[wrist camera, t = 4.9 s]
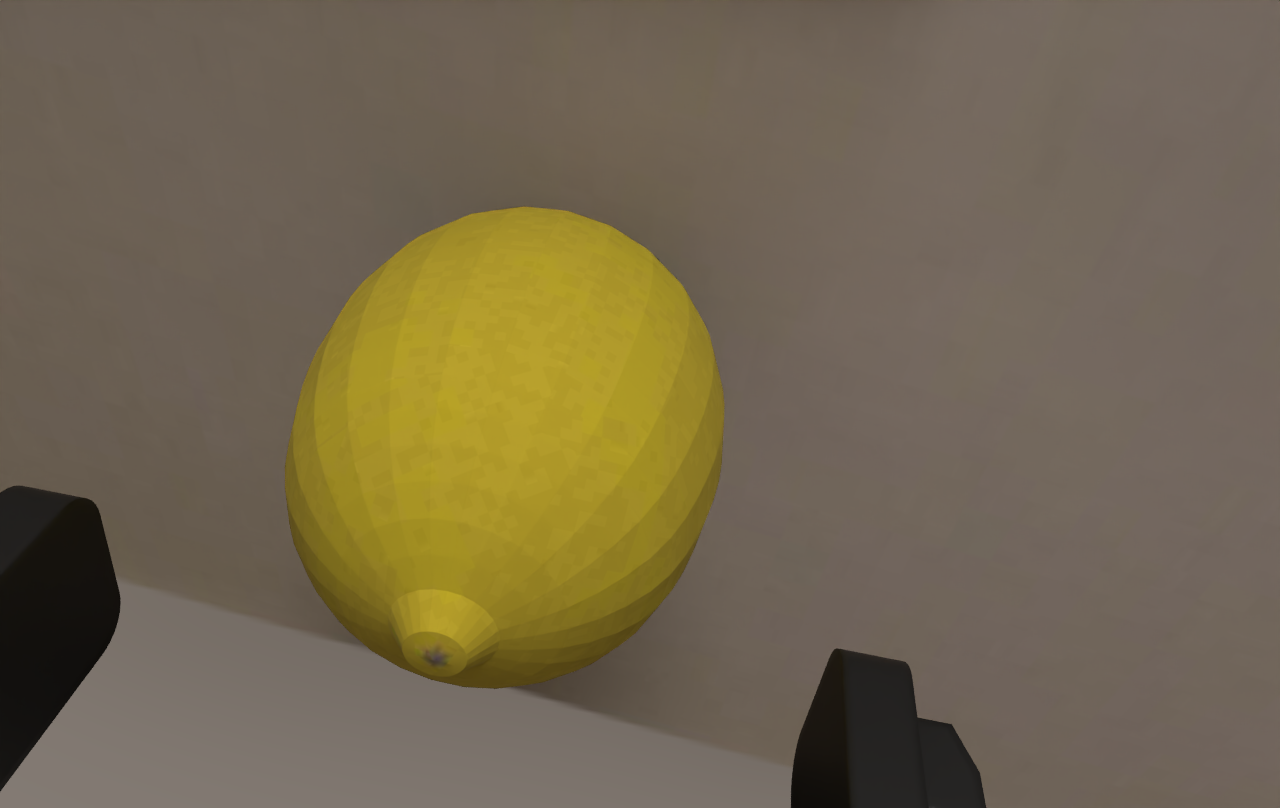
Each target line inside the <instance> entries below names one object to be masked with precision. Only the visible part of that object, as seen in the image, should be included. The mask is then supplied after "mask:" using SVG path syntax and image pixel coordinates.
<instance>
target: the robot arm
mask: <svg viewBox="0 0 1280 808" xmlns="http://www.w3.org/2000/svg"><path fill="white" fill-rule="evenodd" d="M119 613H120V594H119V589H118V585H117V581H116V577H115V573H114V569H113V564H112V560H111V556H110V552H109V548H108V544H107V540H106V536H105V532H104V528H103V524H102V520H101V516H100V513H99V510H98V508H97V506H96V504H95V503H94V502H93V501H91V500H89V499H86V498H81V497H76V496H71V495H66V494H61V493H56V492H51V491H46V490H41V489H35V488H30V487H25V486H13V487H10V488H7V489H6V490H4V491H2V492H1V493H0V791H1V790H2V788H3V787H4V786H5V784H6V783H7V782H8V780H9V779H10V778H11V776H12V775H13V774H14V772H15V771H16V770H17V768H18V767H19V766H20V764H21V763H22V762H23V760H24V759H25V757H26V756H27V755H28V754H29V752H30V751H31V750H32V748H33V747H34V745H35V744H36V743H37V742H38V740H39V739H40V738H41V736H42V735H43V733H44V732H45V731H46V729H47V728H48V727H49V725H50V724H51V723H52V721H53V720H54V719H55V717H56V716H57V715H58V713H59V712H60V710H61V709H62V708H63V707H64V705H65V704H66V703H67V701H68V700H69V699H70V697H71V696H72V694H73V693H74V692H75V691H76V689H77V688H78V686H79V685H80V684H81V682H82V681H83V680H84V678H85V677H86V676H87V674H88V673H89V672H90V670H91V669H92V668H93V666H94V665H95V664H96V662H97V661H98V660H99V658H100V657H101V656H102V654H103V653H104V651H105V650H106V648H107V646H108V644H109V643H110V641H111V638H112V636H113V634H114V632H115V628H116V625H117V622H118V618H119ZM791 808H986V805H985V799H984V793H983V788H982V782H981V777H980V772H979V771H978V769H977V767H976V765H975V764H974V762H973V760H972V759H971V757H970V755H969V753H968V752H967V750H966V748H965V747H964V745H963V743H962V741H961V740H960V738H959V736H958V734H957V733H956V731H955V729H954V728H953V726H952V724H947V723H942V722H937V721H932V720H927V719H922V718H917V711H916V703H915V696H914V688H913V680H912V674H911V670H910V668H909V666H908V664H907V663H906V662H904V661H899V660H894V659H889V658H884V657H878V656H873V655H868V654H863V653H858V652H853V651H848V650H843V649H838V648H837V649H835V650H834V651H833V652H832V654H831V656H830V658H829V660H828V663H827V666H826V668H825V671H824V673H823V676H822V678H821V681H820V684H819V686H818V689H817V691H816V694H815V696H814V699H813V702H812V704H811V707H810V709H809V712H808V715H807V717H806V720H805V722H804V725H803V727H802V730H801V733H800V736H799V739H798V743H797V748H796V753H795V758H794V765H793V773H792V785H791Z"/></svg>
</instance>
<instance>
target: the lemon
mask: <svg viewBox="0 0 1280 808" xmlns="http://www.w3.org/2000/svg"><path fill="white" fill-rule="evenodd" d="M723 428H724V396H723V388H722V384H721V380H720V375H719V371H718V367H717V363H716V359H715V355H714V351H713V347H712V343H711V339H710V335H709V333H708V331H707V328H706V326H705V324H704V322H703V320H702V319H701V317H700V315H699V313H698V312H697V310H696V308H695V306H694V305H693V303H692V301H691V299H690V298H689V296H688V294H687V292H686V291H685V289H684V287H683V286H682V285H681V283H680V282H679V281H678V280H677V279H676V278H675V277H674V276H673V275H672V274H671V273H670V272H669V271H668V270H667V269H666V268H665V267H664V266H663V265H662V263H661V262H660V261H659V260H658V259H657V258H656V257H655V256H654V255H653V254H652V253H651V252H650V251H649V250H648V249H646V248H645V247H643V246H642V245H640V244H638V243H637V242H635V241H634V240H632V239H630V238H629V237H627V236H626V235H624V234H623V233H621V232H619V231H618V230H616V229H615V228H613V227H611V226H609V225H607V224H604V223H601V222H598V221H595V220H592V219H590V218H587V217H584V216H581V215H578V214H575V213H573V212H570V211H564V210H554V209H544V208H534V207H516V208H509V209H502V210H495V211H487V212H480V213H473V214H470V215H467V216H465V217H463V218H460V219H458V220H455V221H453V222H451V223H448V224H446V225H444V226H441V227H439V228H436V229H434V230H432V231H429V232H427V233H425V234H423V235H420V236H419V237H417V238H416V239H414V240H413V241H411V242H410V243H408V244H407V245H406V246H405V247H403V248H402V249H401V250H400V251H399V252H397V253H396V254H395V255H394V256H393V257H391V258H390V259H389V260H388V261H387V262H385V263H384V264H383V265H382V266H381V267H379V268H378V269H377V270H376V271H375V272H373V273H372V274H371V275H370V276H369V277H368V278H367V279H366V280H365V281H364V282H363V283H361V285H360V286H359V287H358V288H357V289H356V291H355V292H354V293H353V294H352V296H351V297H350V298H349V300H348V301H347V303H346V305H345V306H344V308H343V309H342V311H341V313H340V314H339V316H338V317H337V319H336V321H335V322H334V324H333V326H332V327H331V329H330V330H329V332H328V334H327V335H326V337H325V338H324V340H323V342H322V343H321V345H320V346H319V348H318V350H317V352H316V354H315V356H314V358H313V360H312V362H311V364H310V367H309V369H308V372H307V375H306V378H305V380H304V383H303V386H302V390H301V394H300V397H299V401H298V405H297V409H296V414H295V418H294V423H293V427H292V431H291V436H290V440H289V445H288V451H287V457H286V463H285V491H286V500H287V508H288V516H289V524H290V529H291V533H292V537H293V542H294V545H295V547H296V550H297V552H298V554H299V556H300V559H301V561H302V563H303V565H304V568H305V570H306V572H307V575H308V577H309V579H310V581H311V582H312V584H313V586H314V588H315V590H316V592H317V593H318V595H319V596H320V597H321V598H322V600H323V601H324V602H325V604H326V605H327V606H328V608H329V609H330V610H331V612H332V613H333V614H334V615H335V617H336V618H337V619H338V620H339V622H340V623H341V624H342V625H343V626H344V627H345V628H346V629H347V630H348V631H349V632H350V633H352V634H353V635H354V636H355V637H356V638H357V639H359V640H360V641H361V642H362V643H363V644H364V645H366V646H367V647H368V648H369V649H370V650H371V651H373V652H375V653H376V654H378V655H380V656H381V657H383V658H385V659H387V660H388V661H390V662H392V663H394V664H395V665H397V666H399V667H400V668H403V669H405V670H408V671H410V672H413V673H415V674H418V675H421V676H423V677H426V678H428V679H431V680H435V681H439V682H444V683H449V684H453V685H458V686H462V687H476V688H494V689H497V688H505V687H514V686H522V685H529V684H535V683H541V682H545V681H548V680H551V679H554V678H557V677H559V676H562V675H565V674H568V673H571V672H574V671H576V670H579V669H581V668H583V667H586V666H588V665H590V664H592V663H594V662H595V661H597V660H598V659H600V658H601V657H603V656H604V655H606V654H607V653H609V652H610V651H612V650H613V649H615V648H616V647H618V646H619V645H621V644H622V643H623V642H625V641H626V640H627V639H628V638H630V637H631V636H632V635H634V634H635V633H636V632H637V631H638V630H639V628H640V627H641V626H642V625H643V624H644V623H645V621H646V620H647V619H648V618H649V617H650V616H651V614H652V613H653V612H654V611H655V610H656V608H657V607H658V606H659V605H660V604H661V603H662V601H663V600H664V599H665V598H666V596H667V595H668V594H669V593H670V592H671V590H672V589H673V588H674V586H675V584H676V583H677V581H678V579H679V578H680V576H681V575H682V573H683V571H684V569H685V567H686V565H687V563H688V561H689V559H690V557H691V555H692V553H693V550H694V548H695V545H696V543H697V540H698V538H699V535H700V533H701V530H702V528H703V525H704V523H705V520H706V518H707V515H708V513H709V510H710V507H711V505H712V502H713V500H714V496H715V493H716V489H717V486H718V482H719V477H720V471H721V465H722V447H723Z"/></svg>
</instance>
